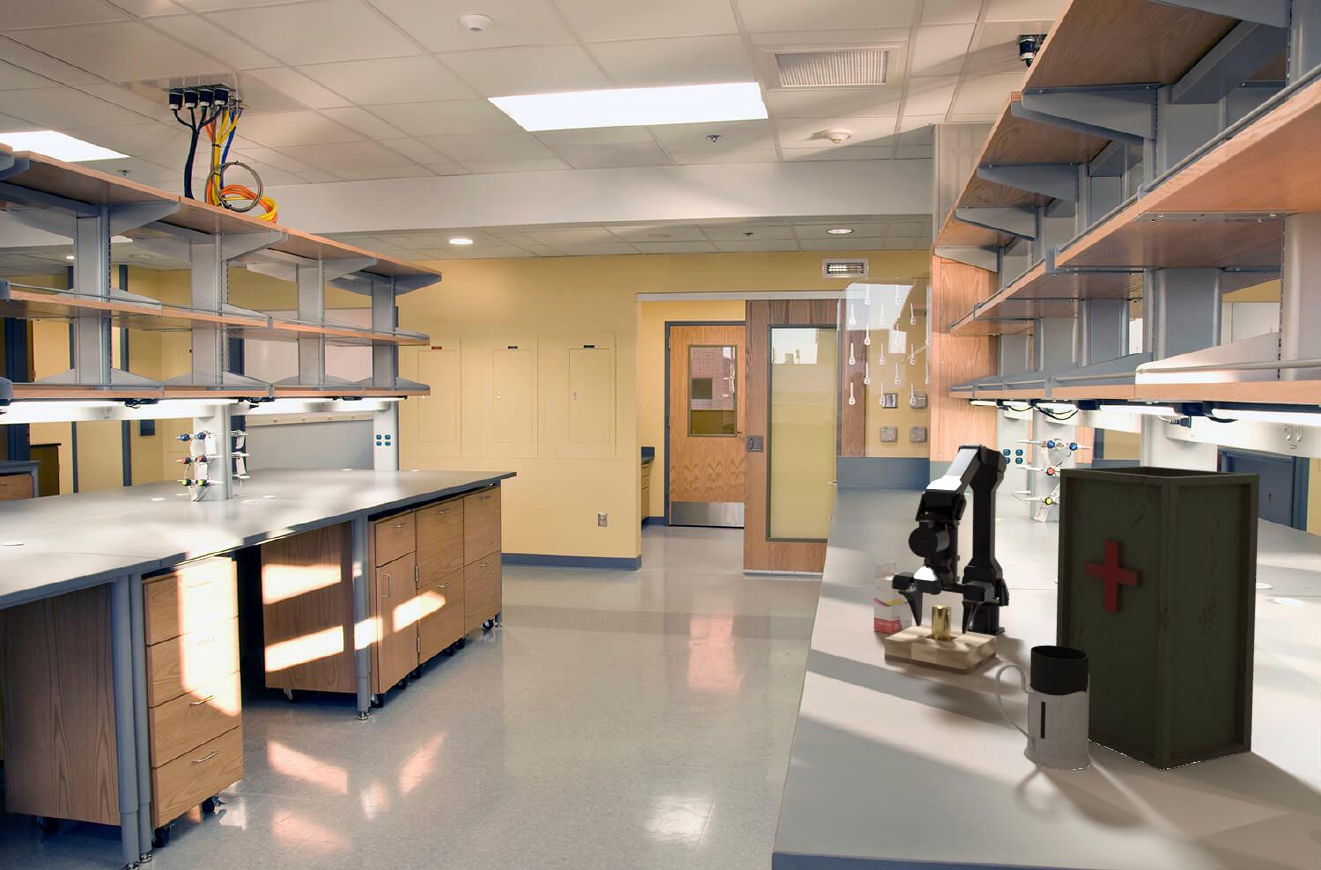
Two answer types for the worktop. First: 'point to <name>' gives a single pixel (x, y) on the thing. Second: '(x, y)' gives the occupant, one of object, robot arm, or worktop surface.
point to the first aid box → (1161, 607)
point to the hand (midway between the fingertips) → (941, 629)
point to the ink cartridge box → (889, 602)
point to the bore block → (940, 649)
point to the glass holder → (1055, 706)
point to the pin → (941, 623)
